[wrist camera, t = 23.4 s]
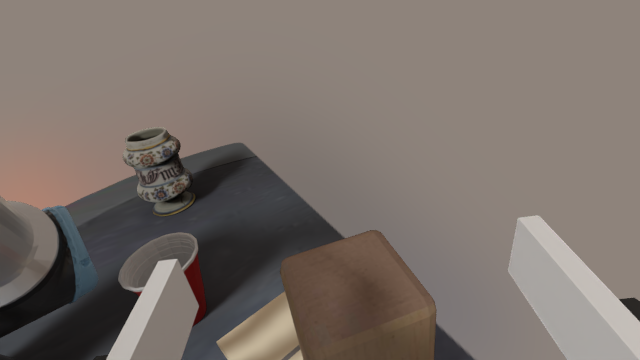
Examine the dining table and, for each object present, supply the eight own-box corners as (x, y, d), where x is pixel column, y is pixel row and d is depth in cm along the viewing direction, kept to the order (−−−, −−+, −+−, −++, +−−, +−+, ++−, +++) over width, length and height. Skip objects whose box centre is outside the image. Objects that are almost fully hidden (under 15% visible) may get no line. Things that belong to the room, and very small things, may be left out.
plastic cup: (158, 296, 58) (128, 240, 52) (223, 280, 59) (201, 224, 53) (141, 355, 49) (103, 296, 43) (219, 335, 50) (193, 275, 44)
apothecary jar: (202, 186, 89) (178, 119, 80) (196, 212, 78) (168, 139, 69) (154, 195, 88) (124, 129, 79) (141, 224, 77) (105, 151, 68)
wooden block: (386, 352, 43) (378, 223, 33) (434, 439, 34) (442, 302, 24) (309, 383, 41) (275, 256, 31) (339, 484, 32) (306, 354, 22)
